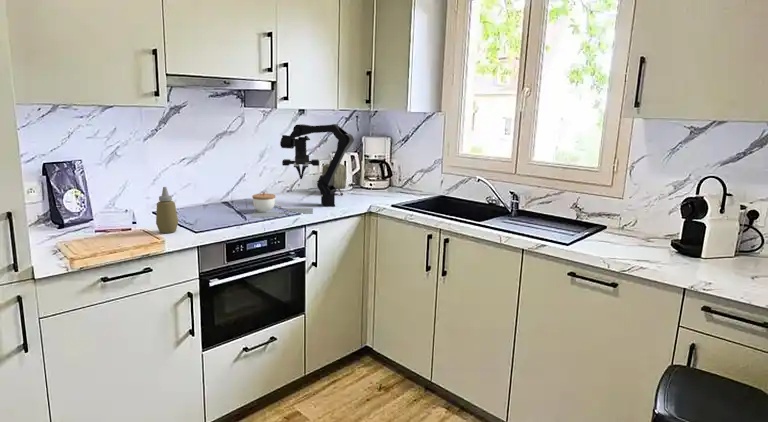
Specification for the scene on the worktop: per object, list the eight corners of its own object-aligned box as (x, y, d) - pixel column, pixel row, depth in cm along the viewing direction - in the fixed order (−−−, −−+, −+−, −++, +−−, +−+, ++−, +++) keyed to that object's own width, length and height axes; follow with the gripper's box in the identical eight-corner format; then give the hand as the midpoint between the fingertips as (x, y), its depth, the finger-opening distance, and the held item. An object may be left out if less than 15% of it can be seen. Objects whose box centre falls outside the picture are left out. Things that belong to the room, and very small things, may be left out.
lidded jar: (279, 211, 238) (279, 192, 236) (258, 214, 232) (258, 194, 230) (269, 208, 247) (269, 189, 245) (249, 210, 240) (248, 191, 238)
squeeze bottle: (174, 228, 202) (171, 184, 199) (182, 232, 197) (179, 187, 193) (153, 231, 197) (150, 186, 193) (161, 235, 191) (157, 189, 188)
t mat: (312, 206, 255) (312, 205, 255) (312, 217, 230) (312, 216, 230) (257, 207, 251) (257, 206, 251) (250, 218, 226) (250, 216, 226)
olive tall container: (346, 195, 287) (346, 152, 282) (331, 196, 282) (331, 153, 277) (335, 192, 299) (335, 150, 294) (321, 193, 295) (321, 150, 290)
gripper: (281, 150, 246) (282, 181, 249) (319, 150, 249) (319, 181, 252) (282, 148, 257) (283, 178, 260) (318, 148, 259) (319, 178, 263)
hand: (301, 179), depth 258 cm, fingers closed
